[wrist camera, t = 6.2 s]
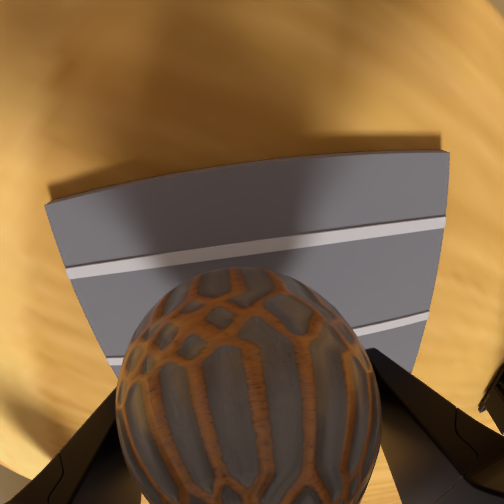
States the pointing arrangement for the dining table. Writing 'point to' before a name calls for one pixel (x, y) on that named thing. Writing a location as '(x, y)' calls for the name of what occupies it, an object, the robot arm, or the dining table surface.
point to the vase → (247, 396)
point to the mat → (266, 239)
